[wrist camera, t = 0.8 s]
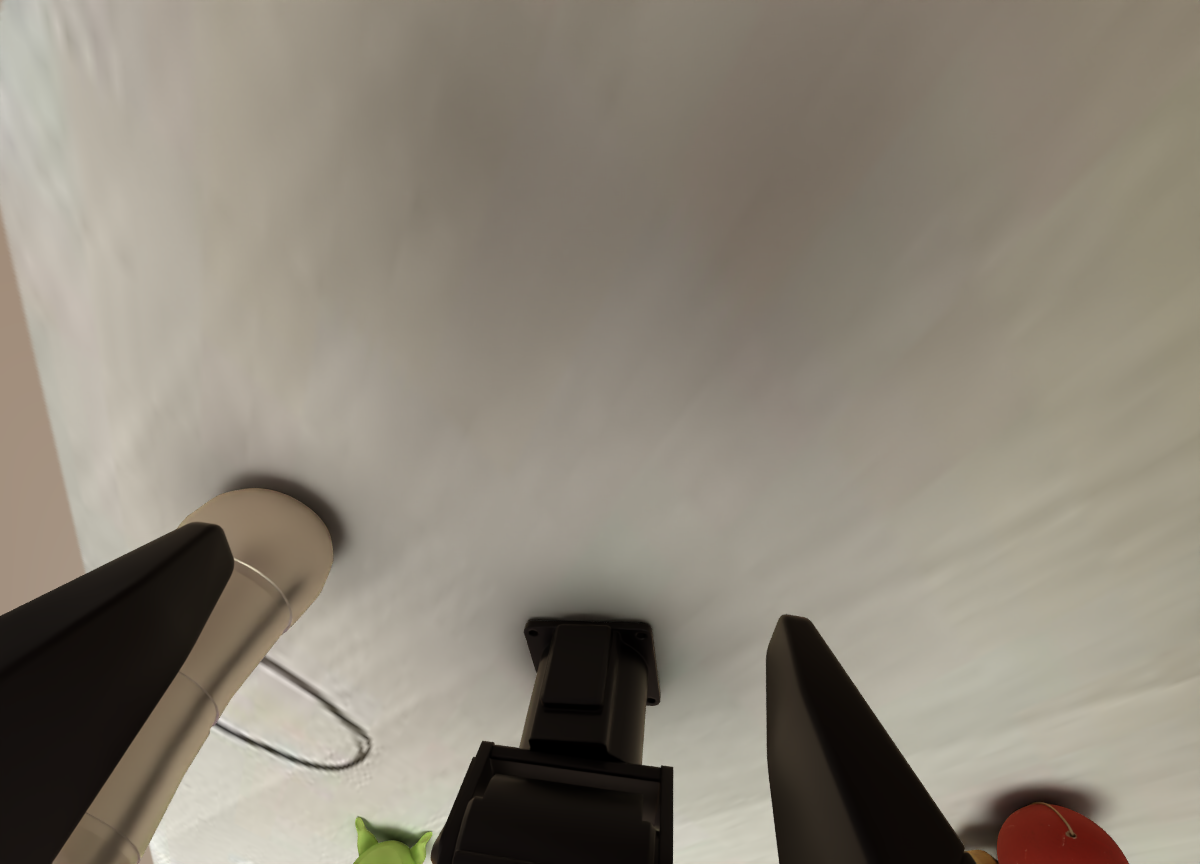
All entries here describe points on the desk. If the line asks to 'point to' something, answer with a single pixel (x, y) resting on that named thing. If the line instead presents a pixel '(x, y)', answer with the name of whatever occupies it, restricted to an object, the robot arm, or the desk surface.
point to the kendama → (1051, 839)
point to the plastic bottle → (210, 665)
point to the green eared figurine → (387, 849)
